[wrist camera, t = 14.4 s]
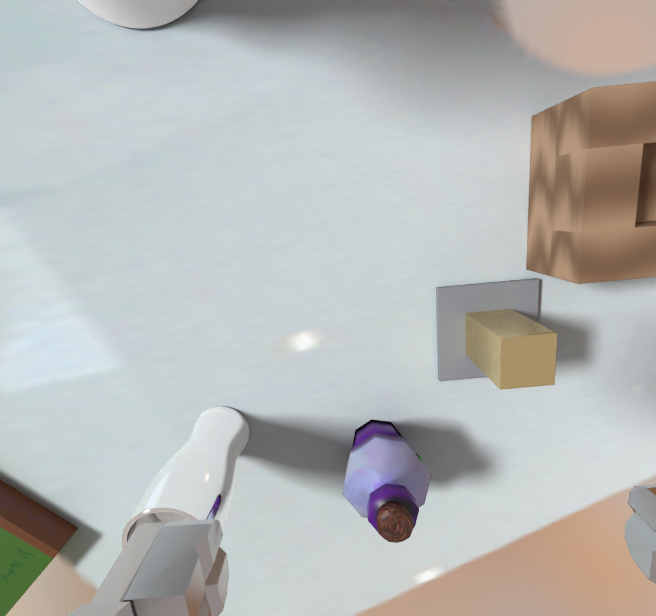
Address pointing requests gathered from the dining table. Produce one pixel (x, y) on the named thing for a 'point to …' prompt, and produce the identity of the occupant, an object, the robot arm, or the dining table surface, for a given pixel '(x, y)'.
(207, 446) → the beer glass
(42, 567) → the hardcover book
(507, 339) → the tan wooden block
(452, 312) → the slate pad
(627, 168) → the wooden slotted box
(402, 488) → the potion bottle
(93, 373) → the dining table surface
